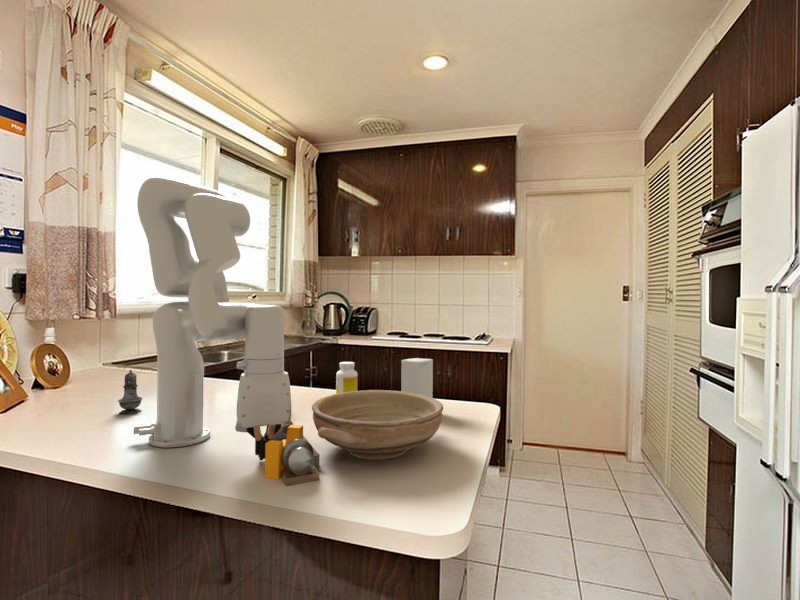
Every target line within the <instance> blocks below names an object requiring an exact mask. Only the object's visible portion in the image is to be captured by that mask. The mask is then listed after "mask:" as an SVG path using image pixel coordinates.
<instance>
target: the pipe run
mask: <svg viewBox="0 0 800 600" xmlns="http://www.w3.org/2000/svg"><path fill="white" fill-rule="evenodd" d="M291 425H294V422H292V420H291ZM288 427H289V426H287V427H284V428H281V429H280V430H279V431H278V432H277V433H276V434H275V435H274V437H273V438H272V440H274V441H282V440H283V439H285V440H286V438H287V432H288ZM262 436H263V437H264V435H262ZM281 462H282V464H283V466H284V467H285V469H282V470H281V477H280V478H282V481H283V484H284V486H291V485H298V484H303V483H308V482H315V481H319V480H320V472H319V470H318V469H320V454H319V453H318V452H317V450H316V449H315V448H314V447H313V445H312V444H311V443H310V441H308V439H307V437H305V435H303V439H295V440H292V441H290V442H289V443H287V444H286V445H285V447H284V448H283V450H282V454H281Z"/></svg>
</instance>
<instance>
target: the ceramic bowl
mask: <svg viewBox="0 0 800 600" xmlns="http://www.w3.org/2000/svg"><path fill="white" fill-rule="evenodd" d="M311 410H312V419H313V423H314V426H315V428H316V431H317V435H318V438H319V437H320V438H321V439H324V440H325V441H327V442H328V443H329V444H332V445H334V446H336V447H338V448H341V449H344V450H347V451H348V453H349V454H350V455H351V456H352V457H356V458H359V459H362V460H363V459H364V460H367V461H368V460H369V461H384V460H385V461H386V460H391V459H392V460H393V459H396V458H399V457H401V456H403V455H404V454H406V453H407V451H408V450H411V449H413V448H416V447H418V446H420V445H423V444H424V443H426V442H427V441H429V440H430V439H431V438H432V437H434V435H435V434H436V433H437V432H438V430H439V428H440V425H441V423H442V419H443V411H444V405H443V403H441V402H440V401H439V400H437V399H436V398H435V397H434V398H431V397H428V396H425V395H421V394H419V393H417V392H403V391H401V390H388V389H387V390H386V389H385V390H384V389H367V390H357V391H351V392H344V393H338V394H336V393H333V394H330V395H327V396H324V397H321V398H318V400H316V401H315V402H314V403H313V404H312V406H311Z"/></svg>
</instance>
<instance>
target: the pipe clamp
mask: <svg viewBox="0 0 800 600" xmlns="http://www.w3.org/2000/svg"><path fill="white" fill-rule="evenodd" d="M303 436H304V425H303V424H293V425H290V426H289V427H288V432H287V438H286V440H285V439H283V440H282V441H274V440H270V441H268V442H267V443H266V444H265V459H264V467H265V468H264V478H265V479H272V480H273V479H275V480H279V479H280V478H282V477H281V470H282V469H285V467H284V466H283V464H282V462H281V454H282V450H283V448H284V447H285V445H286V444H287V443H289V442H290V441H292V440H295V439H303Z"/></svg>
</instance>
